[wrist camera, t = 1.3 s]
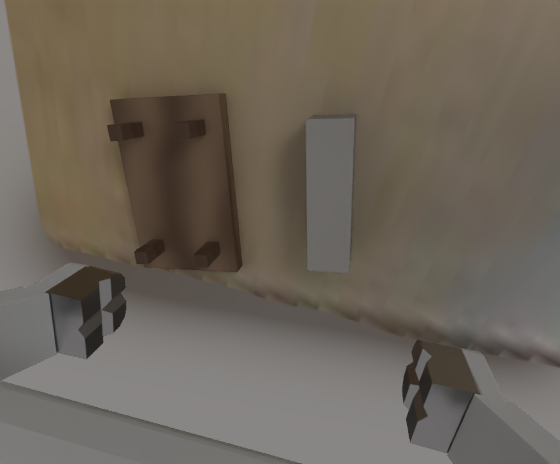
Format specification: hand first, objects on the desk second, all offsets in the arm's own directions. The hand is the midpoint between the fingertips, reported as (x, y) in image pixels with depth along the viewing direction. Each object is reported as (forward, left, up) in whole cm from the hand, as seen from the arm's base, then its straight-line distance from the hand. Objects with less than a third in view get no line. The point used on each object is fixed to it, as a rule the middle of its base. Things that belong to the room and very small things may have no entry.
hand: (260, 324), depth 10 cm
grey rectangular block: (0, +2, -23) cm, 23 cm away
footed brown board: (+14, +2, -23) cm, 27 cm away
